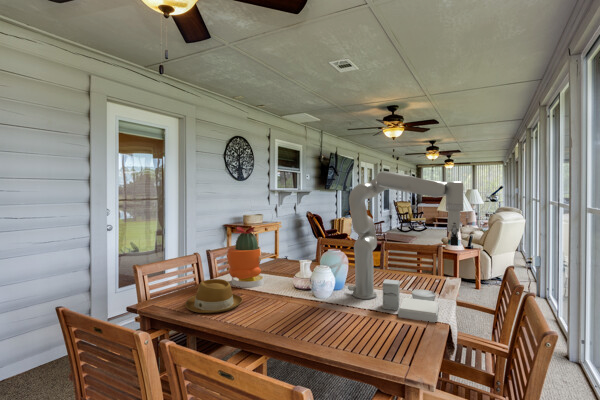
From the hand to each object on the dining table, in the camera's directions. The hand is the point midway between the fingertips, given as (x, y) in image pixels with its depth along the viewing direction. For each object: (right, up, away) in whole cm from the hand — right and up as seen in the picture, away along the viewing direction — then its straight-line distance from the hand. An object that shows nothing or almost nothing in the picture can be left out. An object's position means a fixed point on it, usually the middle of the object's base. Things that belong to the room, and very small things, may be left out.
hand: (454, 243), depth 158 cm
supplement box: (-29, -31, +3) cm, 43 cm away
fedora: (-116, -32, +10) cm, 121 cm away
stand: (-19, -31, -6) cm, 37 cm away
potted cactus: (-106, -31, +45) cm, 120 cm away
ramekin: (-12, -31, +8) cm, 34 cm away
